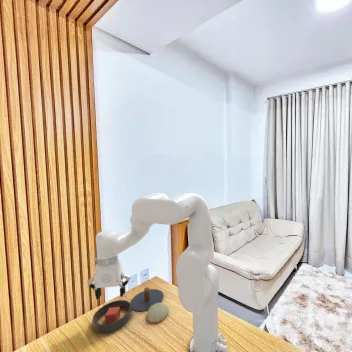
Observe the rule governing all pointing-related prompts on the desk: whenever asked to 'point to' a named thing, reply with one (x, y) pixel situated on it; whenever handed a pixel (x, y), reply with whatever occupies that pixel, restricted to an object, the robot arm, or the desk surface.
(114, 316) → the block
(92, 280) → the robot arm
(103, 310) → the pot
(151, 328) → the desk surface
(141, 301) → the pot lid
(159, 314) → the sea urchin shell
